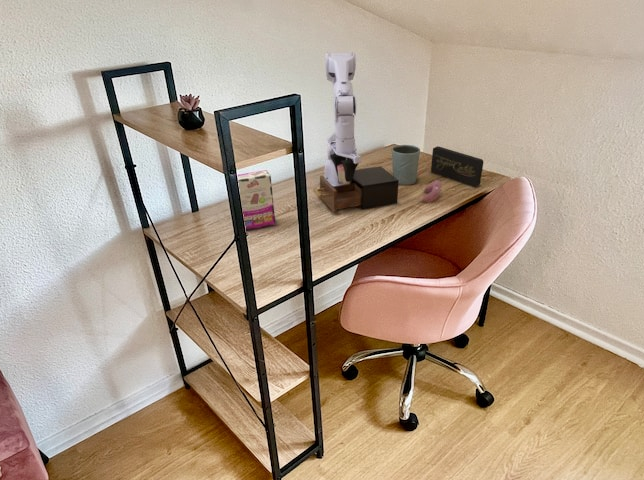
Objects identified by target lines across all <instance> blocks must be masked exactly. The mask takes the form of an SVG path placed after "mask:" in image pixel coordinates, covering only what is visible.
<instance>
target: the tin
mask: <svg viewBox="0 0 644 480" xmlns="http://www.w3.org/2000/svg"><path fill="white" fill-rule="evenodd" d="M337 169H338V183H340V184H350V183H351V181H348V182H347V181H346V180H345V171H344V167H343V164H340V165H338V166H337Z"/></svg>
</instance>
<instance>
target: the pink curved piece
mask: <svg viewBox="0 0 644 480" xmlns="http://www.w3.org/2000/svg"><path fill="white" fill-rule="evenodd" d="M442 185H443V182H442V181H441V180H437V179H436V180H434V181H433V182H432V183H430V184H427V185H426V186H425V187H424V189H423V192H424V193H427V194H426V195H424V196H423V197H422V201H423V203H430V202H432V201H435V199H437V198H438V197H441V195H442V189H441V188H442Z"/></svg>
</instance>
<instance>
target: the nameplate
mask: <svg viewBox="0 0 644 480" xmlns="http://www.w3.org/2000/svg"><path fill="white" fill-rule="evenodd" d="M431 153H432V155H431V166H430V172H431V173H432V174H435V175H438V176H441V177H443V178H447V179H450V180H453V181H455V182H458V183H462V184H464V185H467V186H470V187H473V188H477V187H479V186H480V185H481V180H482V175H483V168H484V160H483V158H480V157H476V156H472V155H468V154H466V153H462V152H460V151H456V150H452V149H448V148H445V147H442V146H439V145H438V146H435V147H432V152H431Z"/></svg>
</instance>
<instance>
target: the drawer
mask: <svg viewBox="0 0 644 480" xmlns="http://www.w3.org/2000/svg"><path fill="white" fill-rule="evenodd" d="M312 191H313V193H314V194H315V195H316V196H317V198H318V199H319V200H322V201H323V202H324V204H325V205H326V206H327V207H328V208H329V209H330V211H331V212H332V213H333V214H335V215H336V214H338V210H340V209H341V210H342V209H346V208H352V207H357V206H358V207H359V205H361V204H362V189H361V188H360V187H359V186H358V185H357V184H356V183H352V184H346V185H339V186H332V185H331V184H330V183H329V182H328V181H327V180H326V179H325V176H324V175H319V188H316V187H314V188H313V189H312Z"/></svg>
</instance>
